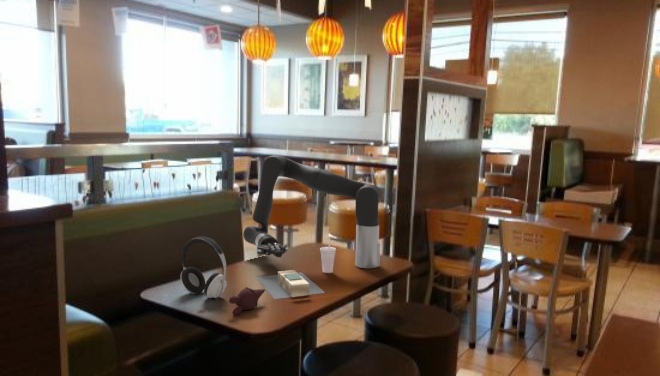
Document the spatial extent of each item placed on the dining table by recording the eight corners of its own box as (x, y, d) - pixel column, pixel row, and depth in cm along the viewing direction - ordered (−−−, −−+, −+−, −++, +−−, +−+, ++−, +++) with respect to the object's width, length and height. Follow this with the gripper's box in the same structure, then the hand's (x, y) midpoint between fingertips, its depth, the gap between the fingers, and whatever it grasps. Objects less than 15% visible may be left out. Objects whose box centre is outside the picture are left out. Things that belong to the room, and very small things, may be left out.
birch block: (277, 270, 176) (292, 284, 162) (293, 269, 179) (309, 282, 164) (277, 282, 177) (291, 297, 162) (293, 280, 179) (309, 294, 165)
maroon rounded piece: (253, 280, 161) (220, 296, 149) (270, 278, 157) (236, 296, 145) (259, 300, 161) (225, 318, 149) (275, 299, 157) (242, 318, 145)
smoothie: (334, 276, 187) (334, 240, 185) (317, 274, 188) (318, 239, 187) (337, 271, 193) (338, 236, 192) (321, 269, 195) (321, 235, 193)
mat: (255, 278, 182) (255, 277, 182) (301, 273, 189) (301, 272, 189) (274, 300, 160) (274, 299, 160) (325, 294, 167) (325, 292, 167)
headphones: (234, 297, 163) (233, 238, 160) (216, 305, 155) (215, 243, 153) (191, 286, 172) (191, 230, 169) (173, 293, 165) (172, 235, 162)
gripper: (250, 235, 196) (262, 246, 180) (282, 233, 201) (296, 243, 186) (250, 254, 197) (262, 266, 181) (281, 251, 202) (296, 262, 187)
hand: (279, 254), depth 184 cm, fingers closed
